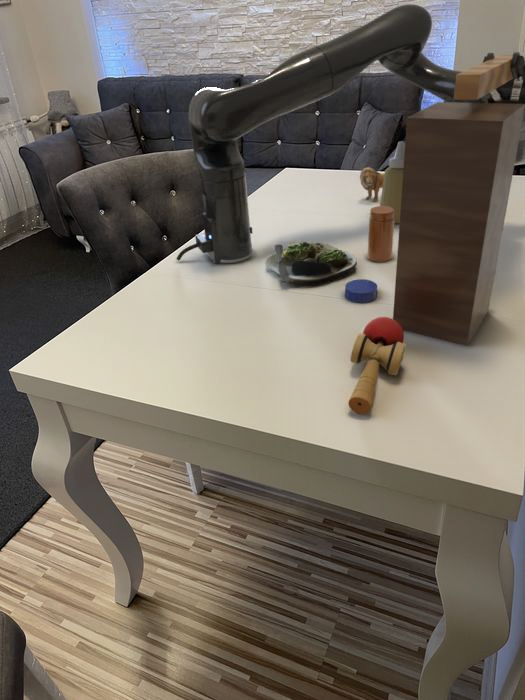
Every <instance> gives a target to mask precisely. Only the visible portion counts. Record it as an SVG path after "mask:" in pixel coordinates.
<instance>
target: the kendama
mask: <svg viewBox="0 0 525 700" xmlns="http://www.w3.org/2000/svg"><path fill="white" fill-rule="evenodd" d="M404 340H405V334H404V330H402V327H401V326H400V325H399V323H398V322H396V321H395V320H393V318H391V317H388V316H380V317H376V318H374V319H372V320H370V321H369V322H368V323H367V324H366V325H365V327H364V329H363V332H362V333H358V334H357V336H356V338H355V340H354V343H353V345H352V351H351V354H350V362H351V363H353V364H356V365H357V364H360V363H362V362H367V363H366V365H365V366H364V368H363V370H362V372H361V374H360V376H359V378H358V380H357V383H356V385H355V387H354V389H353V391H352V393H351V395H350V397H349V399H348V403H347V404H348V407H349V408H350V410H351V411H352V412H354V413H356V414H361V415H364V414H368V413H369V412H370V411H371V409H372V405H373V399H374V394H375V391H376V385H377V381H378V378H379V377H378V376H379V368H380V366H382V367H383V368H384V370H385V371H386V373H387V374H388V375H391V376H395V377H397V376H398V373H399V370H400V367H401V364H402V360H403V357H404V354H405V352H406V351H405V350H406V345H407V344H406V343H405V342H404Z"/></svg>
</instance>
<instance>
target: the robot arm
mask: <svg viewBox="0 0 525 700" xmlns="http://www.w3.org/2000/svg"><path fill="white" fill-rule="evenodd" d="M432 27H433V19H432V16H431V14H430V12H429V11H428V10H427V8H425V7H423V6H421V5H419V4H410V3H408V4H403V5H399V6H396V7H394V8H392V9H390V10H388V11H386V12H385V13H383V14H381V15H379V16H378V17H376V18H374V19H372V20H371V21H369V22H367V23H365V24H364V25H362V26H360V27H358V28H355V29H353V30H351V31H349V32H346V33H344V34H341V35H339V36H337V37H334V38H333V39H330V40H328V41H326V42H324V43H320V44H318V45H314V46H312V47H310V48H308V49H306V50H303V51H301V52H299V53H296V54H294V55H292V56H290V57H289V58H287V59H285V60H284V61H283V62H281V63H280V64H279V65H278V66H276V67H275V68H274V69H273V70H271V71H270V72H269V73H268V74H266V75H265V76H264V77H262V78H259V79H258V80H255V81H253V82H250V83H247V84H244V85H241V86H238V87H234V88H230V89H221V88H217V87H206V88H205V87H204V88H202V89H200V90H199V91H197V92H196V93H195V94H194V95H193V97H192V98H191V101H190V103H189V107H188V124H189V131H190V138H191V143H192V150H193V156H194V161H195V164H196V167H197V170H198V173H199V180H200V186H201V195H202V202H203V203H202V204H203V211H204V212H202V215H201V216H202V222H203V230H204V232H203V233H199V234H195V235H194V236H195V237H194V238H195V243H194V244H192V245H189V246H187V247H186V248H184V249H182V250H181V251H180V252H179V253H178V255H177V256H176V258H175V259H176V261H180V260H181V259H182V257H183V256H184V255H185V254H186V253H188V252H189V251H192V250H194V249H197V248H198V249H199V250H200V252H202V254H207V256H208V257H209V258H210V260H211V261H212V262H213V263H214V264H215V265H219V264H236V263H241V262H244V261H246V260H249V259H250V258H251V257H253V254H254V250H253V245H252V235H253V227H251V221H250V212H249V211H250V210H249V201H248V187H247V178H246V177H247V176H246V165H245V161H244V159H243V157H242V155H241V152H240V150H239V146H238V140H237V139H239V138H242V137H243V136H244V135H246V134H248V133H249V132H250V133H251V131H253V130H255V129H256V128H258V127H260V126H261V125H263V124H265V123H267V122H269V121H271V120H274V119H275V118H277V117H281V116H284V115H287V114H289V113H292V112H294V111H297V110H299V109H302V108H305V107H306V106H309V105H311V104H314V103H316V102H319V101H321V100H324V99H325V98H328V97H330V96H332V95H334V94H336V93H338V92H339V91H341V90H342V89H343V88H345V87H346V86H347V85H348V84H349V83H350V82H352V81H353V80H354V79H355V78H356V77H357V76H359V75H360V74H361V73H363V71H365V70H366V68H368V67H369V66H371V65H372V64H373V63H375V62H376V61H378V62H379V64H380V65H382V66H383V68H385V69H386V70H387V71H389V72H391V73H392V74H394V75H395V76H398V77H400V78H401V79H403V80H405V81H407V82H409V83H412V84H413V85H414V86H417V87H418V88H419V89H422V90H424V91H426V92H427V93H430V94H431V95H433V96H434V97H437V98H438V99H440V100H442V101H443V102H453V103H504V104H525V56H523V55H521V53H520V51H514V52H513V54H512V55H513V57H512V61H511V66H510V69H511V72H512V76H513V79H512V80H510V81H508V82H506V83H505V84H503V85H501V86H500V87H498V88H496V89H495V90H493V91H491V92H490V93H488V94H486V95H485V96H483V97H481V98H480V99H478V100H454V91H455V82H456V75H457V74H459V73H461V72H462V70H454V69H449V68H447V67H443V66H441V65H438V64H436V63H435V62H433V61H431V59H429V58H427V56H426V55H425V54H424V53H423V51H424V48H425V47H426V44H427V43H428V40H429V38H430V35H431V32H432ZM520 55H521V56H520ZM495 57H496V56H495V53H494V52H488V53H486V56H484V57H483V59H482V63H484V62H486V61H488V60H491V59H493V58H495ZM524 162H525V109H524V115H523V120H522V126H521V131H520V137H519V142H518V148H517V154H516V159H515V165H519V164H521V163H524Z"/></svg>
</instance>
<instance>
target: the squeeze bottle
mask: <svg viewBox="0 0 525 700" xmlns="http://www.w3.org/2000/svg"><path fill="white" fill-rule="evenodd" d="M404 154H405V142H404V141H403V140H401V141H398V142H397V146H396V150H395V154H394V156H393V157H390V158H389V164H388V165H389V166H388V167H387V168H386V169H384V173H385V175H384V181H383V188H381V194H380V195H381V196H380V203H379V206H388V207H392V208H393V209H394V211H395V212H394V224H400V211H401V197H402V183H403V168H404Z"/></svg>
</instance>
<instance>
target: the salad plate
mask: <svg viewBox="0 0 525 700" xmlns="http://www.w3.org/2000/svg"><path fill="white" fill-rule="evenodd" d="M273 249H274V253H272V254H270V255H268V256H267V257H266V259H265V260H264V263H265V266H266V267H267V268H268V269H269V270H270V271H272V272H273V273H275V274H277V276H279V278H280V279H281V280H282V281H284V282H285V283H287V282H288V283H290V284H291V285H294V286H299V287H301V286H302V287H315V286H320V285H323V284H327V283H332V282H334V281H337V280H340V279H342V278H345V277H347V276H348V275H350V274H351V273H352V272H353V271H354V270H355V269H356V268H357V265H358V260H357V259H358V258H357V257H356V256H355V255H354V254H351V253H349V252H347V251H344V250H342V249H341V248H338V247H336V246H334V245H331V244H329V243H325V242H307V241H302V242H299V243H295V244H293V243H292V242H289V243H288V246H287V248H286V249H284V246H283V244H280V243H278V244H275V245H274V248H273Z"/></svg>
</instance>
